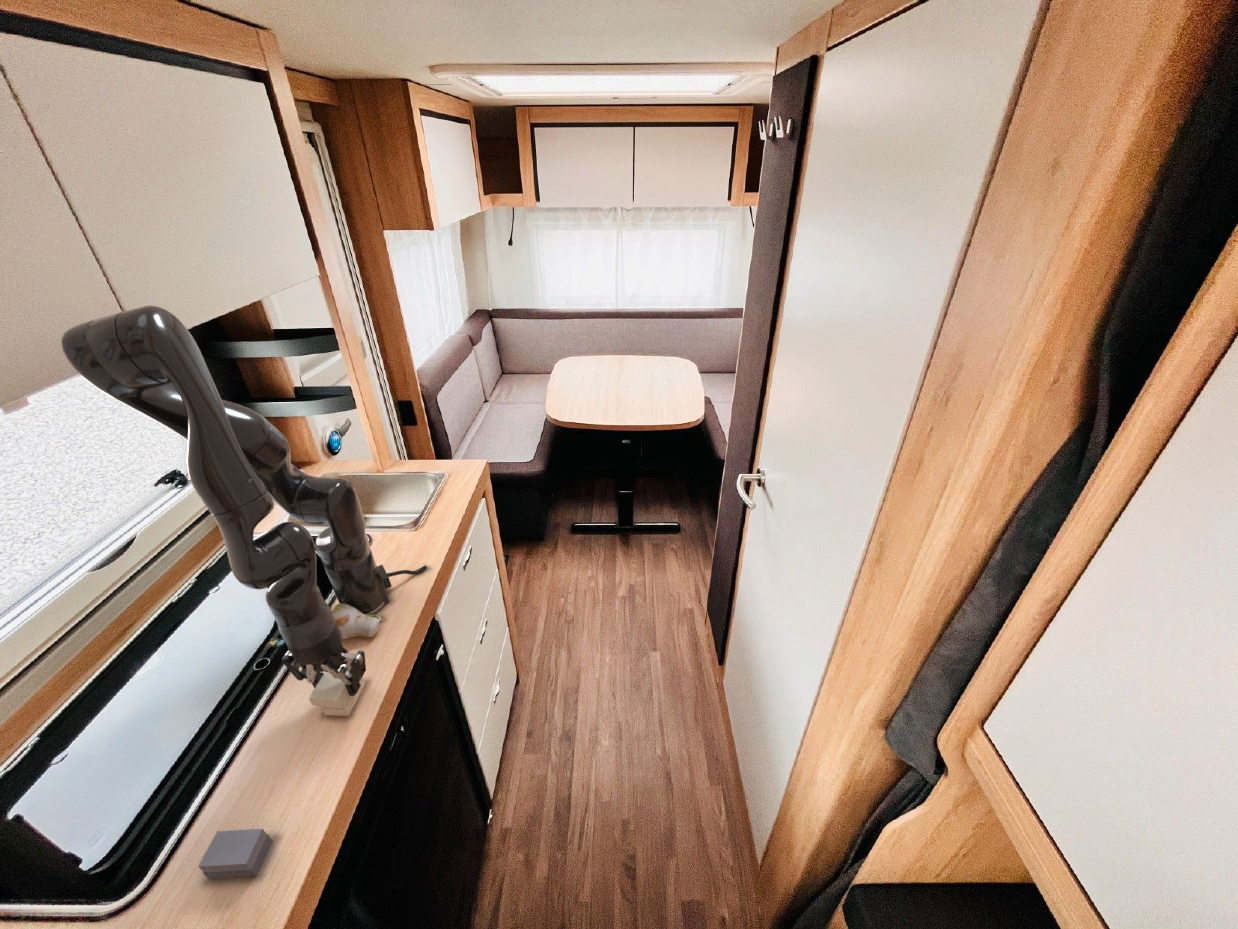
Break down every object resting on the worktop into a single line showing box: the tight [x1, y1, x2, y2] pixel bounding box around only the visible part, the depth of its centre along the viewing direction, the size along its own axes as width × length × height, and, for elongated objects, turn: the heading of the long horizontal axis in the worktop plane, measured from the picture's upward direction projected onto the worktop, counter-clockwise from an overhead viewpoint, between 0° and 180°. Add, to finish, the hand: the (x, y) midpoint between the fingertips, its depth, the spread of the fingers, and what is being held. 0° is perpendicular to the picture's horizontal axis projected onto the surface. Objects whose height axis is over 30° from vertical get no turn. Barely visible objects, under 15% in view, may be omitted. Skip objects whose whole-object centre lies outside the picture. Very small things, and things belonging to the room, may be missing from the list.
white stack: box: [321, 676, 366, 717], centre depth 94 cm, size 7×4×4 cm
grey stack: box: [197, 828, 273, 880], centre depth 73 cm, size 7×4×4 cm
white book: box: [308, 666, 349, 707], centre depth 92 cm, size 8×5×2 cm
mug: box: [331, 603, 382, 640], centre depth 106 cm, size 8×10×10 cm
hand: (339, 690), depth 93 cm, fingers closed on white book, 5 cm apart
